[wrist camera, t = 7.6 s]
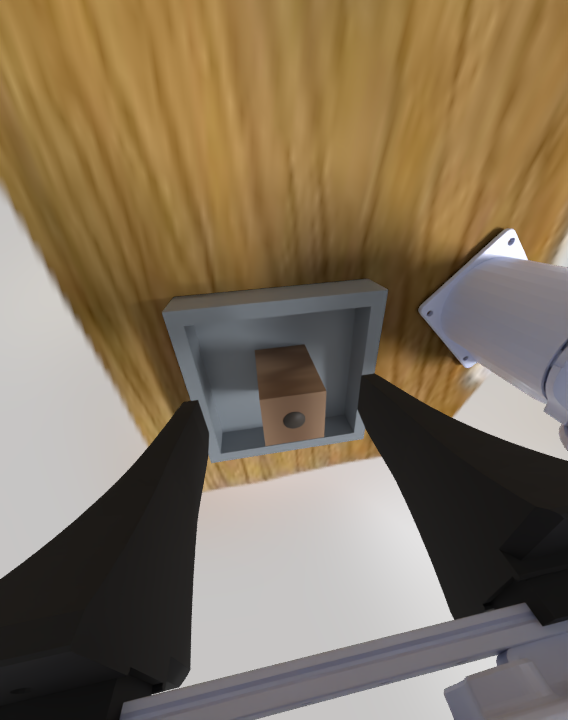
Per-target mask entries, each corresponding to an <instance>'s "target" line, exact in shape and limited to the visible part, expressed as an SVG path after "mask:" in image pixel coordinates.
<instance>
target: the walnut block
mask: <svg viewBox="0 0 568 720" xmlns="http://www.w3.org/2000/svg"><path fill="white" fill-rule="evenodd" d="M255 359H256V370H257V380H258V391H259V401H260V408H261V416H262V423H263V431H264V438H265V446H269V445H276V444H282V443H289V442H295V441H302V440H308V439H315V438H321V437H324V430H325V410H326V389H325V387H324V385H323V383H322V380H321V378H320V376H319V374H318V372H317V370H316V368H315V365H314V363H313V361H312V359H311V357H310V355H309V353H308V350H307V348H306V346H305V344H304V345H295V346H287V347H278V348H269V349H261V350H255Z"/></svg>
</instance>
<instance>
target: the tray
mask: <svg viewBox="0 0 568 720" xmlns="http://www.w3.org/2000/svg"><path fill="white" fill-rule="evenodd" d="M387 294H388V289H386V288H384V287H382V286H381V285H379V284H377V283H375V282H373V281H372V280H370V279H358V280H348V281H337V282H327V283H316V284H305V285H295V286H284V287H274V288H263V289H253V290H242V291H231V292H221V293H210V294H200V295H189V296H178V297H173V298H172V300H171V301H170V302H169V304H168V305H167V306H166V307H165V309H164V310H163V311H162V315H163V318H164V321H165V324H166V327H167V330H168V333H169V336H170V339H171V342H172V345H173V348H174V351H175V354H176V357H177V360H178V363H179V366H180V369H181V372H182V375H183V378H184V381H185V384H186V388H187V391H188V394H189V397H190V400H191V401H194V400H198V401H199V404H200V407H201V410H202V413H203V416H204V419H205V422H206V425H207V428H208V431H209V451H208V454H209V457H210V460H211V463H214V462H221V461H227V460H233V459H239V458H246V457H252V456H258V455H265V454H271V453H277V452H283V451H290V450H296V449H302V448H309V447H315V446H321V445H327V444H334V443H340V442H346V441H352V440H359V439H363V437H364V431H365V426H364V424H363V422H362V419H361V417H360V415H359V412H358V410H357V408H358V399H359V390H360V382H361V375H367V374H373V373H374V372H375V366H376V360H377V354H378V348H379V342H380V336H381V330H382V324H383V318H384V312H385V306H386V300H387ZM304 344H305V346H306V348H307V350H308V353H309V355H310V357H311V359H312V361H313V363H314V365H315V368H316V370H317V372H318V374H319V376H320V378H321V380H322V383H323V385H324V387H325V389H326V410H325V430H324V437H321V438H315V439H308V440H302V441H295V442H289V443H282V444H276V445H269V446H265V438H264V431H263V423H262V416H261V408H260V401H259V391H258V380H257V370H256V359H255V350H261V349H269V348H278V347H287V346H295V345H304Z"/></svg>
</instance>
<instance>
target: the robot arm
mask: <svg viewBox="0 0 568 720" xmlns="http://www.w3.org/2000/svg"><path fill="white" fill-rule="evenodd" d="M509 240H510V241H509ZM508 241H509V243H508ZM429 311H430V312H429ZM418 312H419V313H420V315H421V316H422V317H423V318H424V319H425V321H426V322H427V323H428V324H429V325H430V327H431V328H432V329H433V330H434V331H435V333H436V334H437V335H438V336H439V337H440V339H441V340H442V341H443V342H444V343H445V345H446V346H447V347H448V348H449V350H450V351H451V352H452V353H453V354H454V356H455V357H456V358H457V359H458V360H459V362H460V363H461V364H462V365H463V366H464V367H466V368H469V367H472V366H473V365H474V364H476V363H477V362H478V363H480V364H481V365H483V366H484V367H486V368H487V369H489V370H490V371H492V372H493V373H495V374H496V375H498V376H499V377H501V378H503V379H504V380H506V381H507V382H509V383H510V384H512V385H513V386H515V387H516V388H518V389H520V390H521V391H523V392H524V393H526V394H527V395H529V396H530V397H532V398H534V399H536V400H538V401H540V402H542V403H545V404H546V407H545V409H544V412H545V413H547V414H548V415H550V416H551V417H553V418H554V419H556V420H557V421H559V422H560V423H562V424H561V426H560V428H559V436H560V440H561V442H562V443H563V445H564V447H565V448H566V450H567V451H568V267H562V266H557V265H551V264H545V263H540V262H534V261H529V260H528V259H527V257H526V255H525V252H524V250H523V248H522V245H521V243H520V241H519V239H518V236H517V234H516V232H515V230H514V229H510V228H507V229H504V230H503V231H502V232H501V233H499V234H498V235H497V236H496V237H495V238H494V239H493V240H492V241H491V242H490V243H488V244H487V245H486V246H485V247H484V248H483V249H482V250H481V251H480V252H479V253H477V254H476V255H475V256H474V257H473V258H472V259H471V260H470V261H469V262H468V263H466V264H465V265H464V266H463V267H462V268H461V269H460V270H459V271H458V272H457V273H455V274H454V275H453V276H452V277H451V278H450V279H449V280H448V281H447V282H446V283H444V284H443V285H442V286H441V287H440V288H439V289H438V290H437V291H436V292H435V293H433V294H432V295H431V296H430V297H429V298H428V299H427V300H426V301H425V302H424V303H422V304H421V306H420V307H419V309H418ZM428 312H429V314H427V313H428ZM357 410H358V412H359V415H360V417H361V419H362V422H363V424H364V426H365V429H366V430H367V432H368V434H369V436H370V437H371V439H372V441H373V443H374V444H375V446H376V448H377V449H378V451H379V453H380V454H381V456H382V458H383V459H384V461H385V463H386V464H387V466H388V468H389V470H390V471H391V473H392V474H393V477H394V478H395V480H396V482H397V484H398V486H399V488H400V490H401V492H402V495H403V497H404V499H405V501H406V503H407V505H408V508H409V510H410V512H411V514H412V517H413V519H414V521H415V523H416V526H417V528H418V530H419V533H420V535H421V537H422V540H423V542H424V544H425V547H426V549H427V552H428V554H429V557H430V559H431V562H432V564H433V567H434V569H435V572H436V575H437V577H438V580H439V582H440V585H441V587H442V590H443V593H444V595H445V598H446V601H447V604H448V606H449V609H450V612H451V614H452V616H453V618H454V620H452V621H449V622H445V623H441V624H436V625H433V626H428V627H424V628H421V629H416V630H412V631H409V632H404V633H401V634H396V635H392V636H388V637H384V638H381V639H377V640H372V641H368V642H364V643H360V644H356V645H352V646H348V647H344V648H340V649H336V650H332V651H328V652H324V653H320V654H316V655H312V656H308V657H304V658H300V659H296V660H292V661H288V662H284V663H280V664H276V665H272V666H268V667H264V668H260V669H256V670H252V671H248V672H244V673H240V674H236V675H232V676H228V677H224V678H220V679H216V680H212V681H208V682H203V683H200V684H195V685H192V686H187V687H183V688H179V689H175V690H172V691H167V692H163V691H166V690H170V689H174V688H177V687H179V686H180V685H181V684H182V682H183V681H184V680H185V678H186V677H187V675H188V673H189V671H190V658H191V618H192V617H191V616H192V595H193V574H194V560H195V559H194V558H195V545H196V532H197V520H198V513H199V507H200V501H201V495H202V489H203V484H204V478H205V472H206V466H207V460H208V451H209V431H208V428H207V425H206V422H205V419H204V416H203V413H202V410H201V407H200V404H199V401H198V400H194V401H187V402H183V403H182V404H181V406H180V407H179V408H178V410H177V411H176V412H175V414H174V415H173V416H172V418H171V419H170V420H169V422H168V423H167V424H166V426H165V427H164V428H163V429H162V431H161V432H160V433H159V434H158V436H157V437H156V438H155V440H154V441H153V442H152V443H151V445H150V446H149V447H148V448H147V449H146V450H145V452H144V453H143V454H142V455H141V456H140V457H139V459H138V460H137V461H136V462H135V463H134V464H133V465H132V467H131V468H130V469H129V470H128V471H127V472H126V473H125V474H124V475H123V476H122V477H121V478H120V479H119V480H118V481H117V482H116V483H115V484H114V485H113V486H112V487H111V488H110V489H109V490H108V491H107V492H106V493H105V494H104V495H103V496H102V497H100V498H99V499H98V500H97V501H96V502H95V503H94V504H93V505H92V506H91V507H89V508H88V509H87V510H86V511H85V512H84V513H83V514H82V515H81V516H79V517H78V518H77V519H76V520H75V521H74V522H73V523H71V524H70V525H69V526H68V527H67V528H65V529H64V530H63V531H62V532H61V533H59V534H58V535H57V536H56V537H55V538H53V539H52V540H51V541H50V542H48V543H47V544H46V545H45V546H44V547H42V548H41V549H40V550H38V551H37V552H36V553H35V554H33V555H32V556H31V557H29V558H28V559H27V560H26V561H24V562H23V563H22V564H20V565H19V566H18V567H16V568H15V569H14V570H12V571H11V572H10V573H8V574H7V575H6V576H4V577H3V578H1V579H0V720H255V719H259V718H262V717H266V716H270V715H274V714H277V713H281V712H285V711H289V710H292V709H296V708H300V707H303V706H307V705H311V704H315V703H319V702H322V701H326V700H330V699H334V698H337V697H341V696H345V695H348V694H352V693H356V692H359V691H364V690H367V689H371V688H375V687H379V686H382V685H386V684H390V683H393V682H397V681H401V680H405V679H408V678H412V677H416V676H419V675H424V674H427V673H431V672H435V671H438V670H442V669H446V668H450V667H453V666H457V665H461V664H465V663H468V662H472V661H476V660H480V659H483V658H487V657H490V656H495V655H498V656H497V660H496V662H497V667H494V668H491V669H488V670H485V671H482V672H479V673H475V674H473V675H470V676H467V677H466V678H465V679H464V680H463V681H461V682H459V683H457V684H455V685H453V686H450V687H448V688H446V689H444V696H445V698H446V700H447V703H448V705H449V707H450V710H451V712H452V715H453V717H454V720H568V461H566V460H562V459H559V458H555V457H552V456H549V455H546V454H543V453H540V452H537V451H534V450H531V449H528V448H525V447H522V446H519V445H516V444H514V443H511V442H508V441H505V440H503V439H500V438H498V437H495V436H492V435H490V434H487V433H485V432H483V431H480V430H478V429H475V428H473V427H471V426H469V425H466V424H464V423H462V422H460V421H458V420H456V419H453V418H451V417H449V416H447V415H445V414H443V413H441V412H440V411H438V410H436V409H434V408H432V407H430V406H428V405H427V404H425V403H423V402H421V401H419V400H418V399H416V398H414V397H413V396H411V395H409V394H408V393H406V392H404V391H403V390H401V389H399V388H398V387H396V386H395V385H393V384H391V383H390V382H388V381H386V380H385V379H383V378H381V377H380V376H378V375H376V374H374V373H373V374H367V375H361V382H360V390H359V399H358V408H357ZM159 692H163V693H159ZM155 693H159V694H156V695H151V694H155Z"/></svg>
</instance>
